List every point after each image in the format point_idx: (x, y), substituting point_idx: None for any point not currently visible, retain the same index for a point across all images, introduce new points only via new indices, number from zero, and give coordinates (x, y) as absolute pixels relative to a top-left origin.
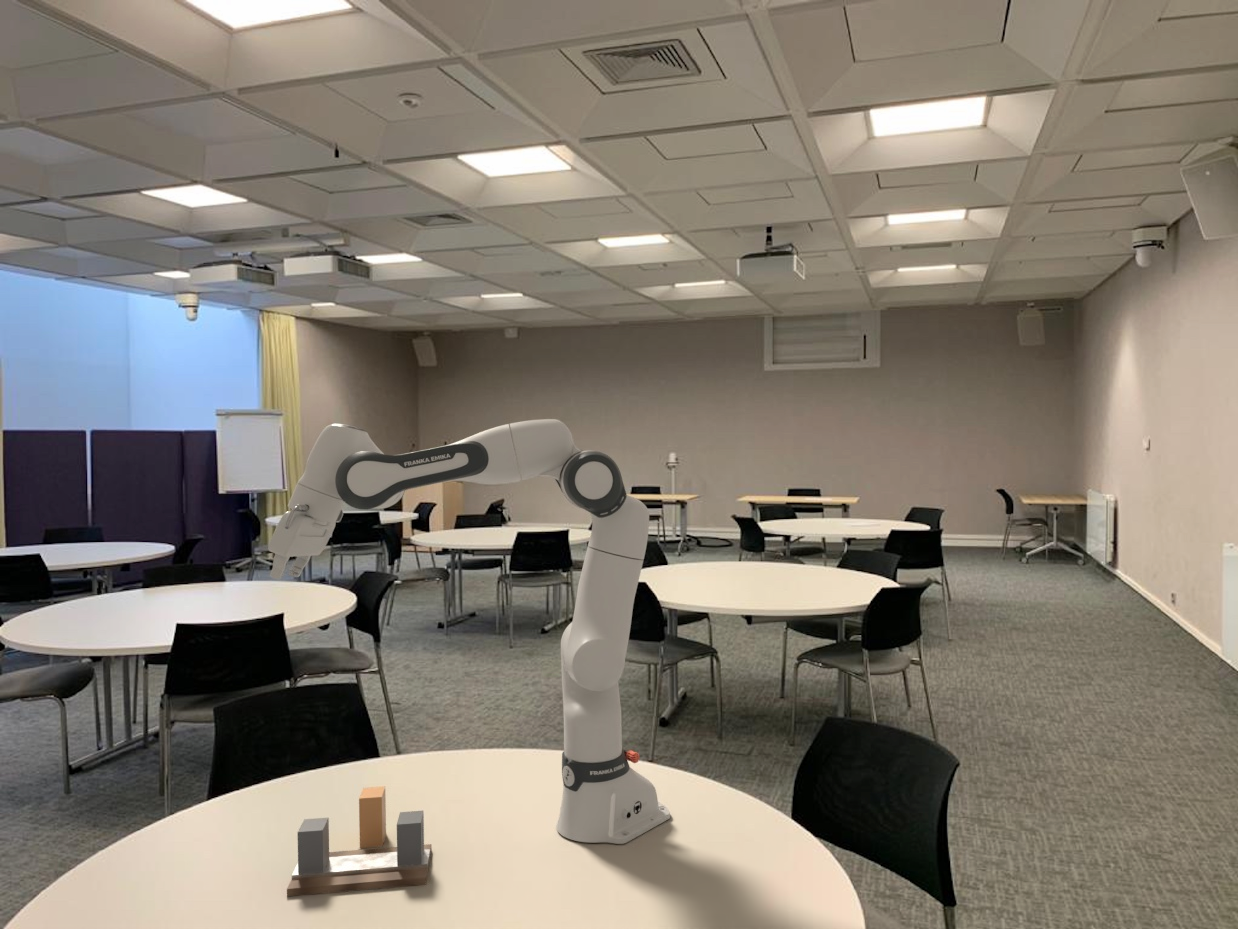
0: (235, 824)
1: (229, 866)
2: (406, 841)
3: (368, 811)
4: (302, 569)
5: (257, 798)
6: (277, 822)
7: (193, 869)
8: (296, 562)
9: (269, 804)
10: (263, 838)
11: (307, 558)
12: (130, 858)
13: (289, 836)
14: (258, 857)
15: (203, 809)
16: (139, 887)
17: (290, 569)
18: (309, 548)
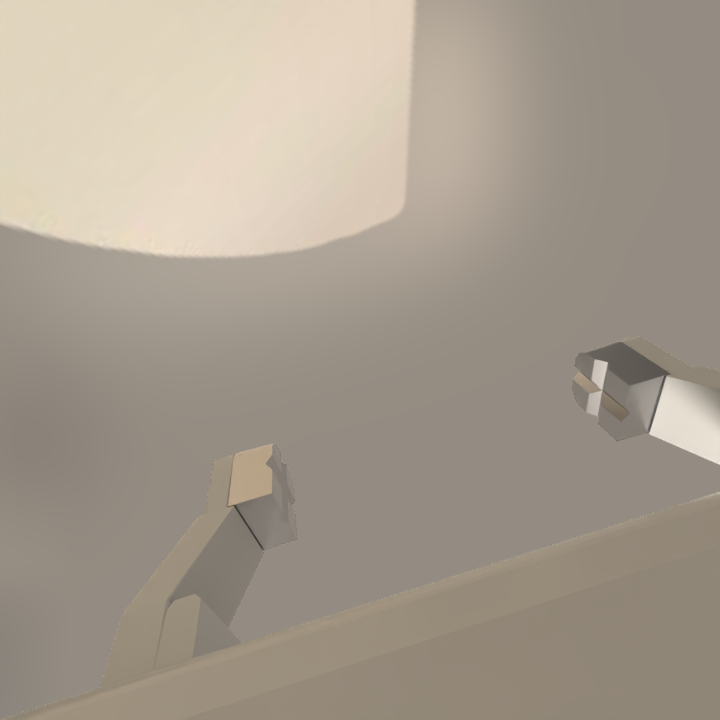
0: (163, 162)
1: (282, 67)
2: None
3: None
4: (208, 507)
5: (65, 197)
6: (121, 90)
7: (300, 119)
8: (241, 580)
9: (70, 159)
10: (184, 74)
11: (200, 618)
12: (290, 219)
13: (157, 21)
14: (245, 33)
15: (146, 243)
16: (348, 154)
17: (293, 511)
18: (513, 713)
